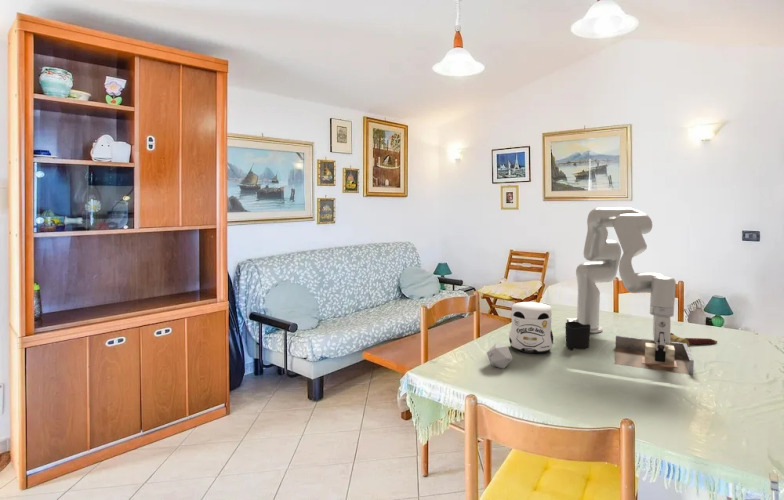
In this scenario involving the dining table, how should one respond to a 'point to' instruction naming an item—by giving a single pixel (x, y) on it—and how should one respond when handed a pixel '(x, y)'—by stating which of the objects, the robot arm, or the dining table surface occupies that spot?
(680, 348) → the metal walls
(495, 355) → the die
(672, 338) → the gavel
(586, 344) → the pen holder
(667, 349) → the maple block
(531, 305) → the milk container
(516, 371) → the dining table surface
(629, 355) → the walnut board
